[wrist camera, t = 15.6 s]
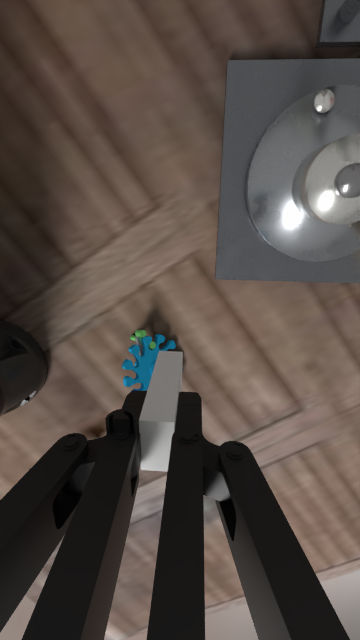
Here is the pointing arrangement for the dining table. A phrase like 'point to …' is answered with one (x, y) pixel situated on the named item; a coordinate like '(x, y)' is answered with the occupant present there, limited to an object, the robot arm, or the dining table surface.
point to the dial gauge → (339, 24)
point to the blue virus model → (144, 358)
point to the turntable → (280, 167)
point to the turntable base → (237, 150)
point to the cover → (330, 182)
